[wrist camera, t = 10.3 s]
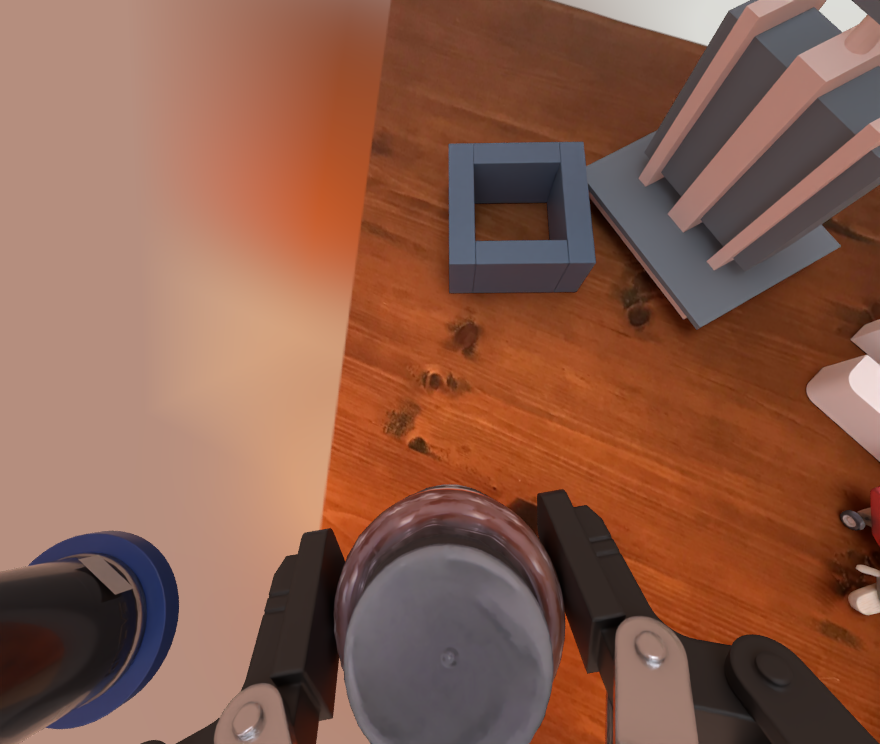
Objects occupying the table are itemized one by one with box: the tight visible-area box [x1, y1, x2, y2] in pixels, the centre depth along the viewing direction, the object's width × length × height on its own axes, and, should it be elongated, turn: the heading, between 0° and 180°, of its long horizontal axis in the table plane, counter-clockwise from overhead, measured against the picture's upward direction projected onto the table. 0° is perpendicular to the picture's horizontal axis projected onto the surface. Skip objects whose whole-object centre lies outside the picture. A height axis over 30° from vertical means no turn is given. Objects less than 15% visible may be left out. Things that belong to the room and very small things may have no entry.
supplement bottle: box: [333, 485, 565, 744], centre depth 13 cm, size 6×6×11 cm
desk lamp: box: [586, 0, 880, 330], centre depth 21 cm, size 18×14×33 cm
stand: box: [449, 142, 596, 293], centre depth 34 cm, size 11×11×5 cm
